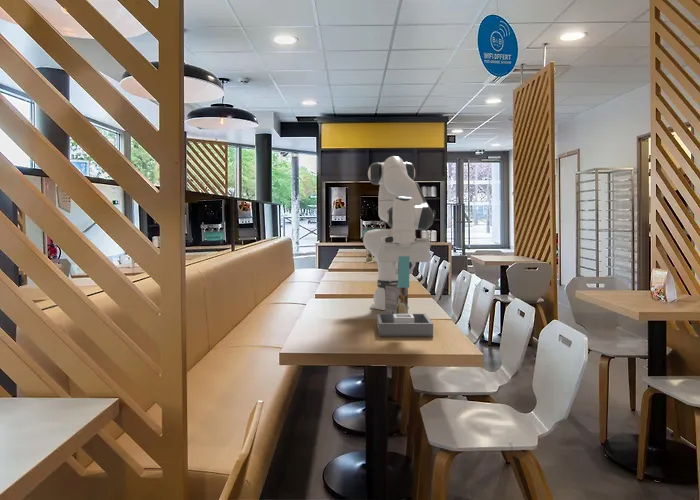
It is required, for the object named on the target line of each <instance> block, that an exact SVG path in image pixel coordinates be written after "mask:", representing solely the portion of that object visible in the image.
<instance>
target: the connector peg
mask: <svg viewBox="0 0 700 500" xmlns="http://www.w3.org/2000/svg"><path fill="white" fill-rule="evenodd" d="M398 269H399V271H398V272H399V274H398V287H399V288H408V289H409V288H410V274H409V269H410V262H409V256H399V262H398Z"/></svg>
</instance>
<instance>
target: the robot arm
mask: <svg viewBox="0 0 700 500" xmlns="http://www.w3.org/2000/svg"><path fill="white" fill-rule="evenodd" d="M367 176H368V180H369V182H370V183H371V184H372V185H375V186H379V189H378V190H379V191H378V197H377V198H378V202H377V203H378V210H377V211H378V212H377V213H378V217H379V219H380V220H382V221H383V222H385V223H386V224H387V225H388V226H389V227H390V228H383V229H382V228H381V229H380V228H375V229H371V230H367V231H366V232H365V234H364V235H363V239H362V242H363V246H364V247H365V249H366V250H367V251H369V253H370V254H372V255H373V257H374V259H375V261H376V263H377V272H378V273H377V274H378V277H377V281H376V284H377V285H376V287H377V288H376V289H375V291H374V292H373V295H372V296H373V303H371V305H370V309H374V310H380V311H385V284H389V283H395V282H398V274H399V272H398V271H399V269H398V262H399V256H409V263H411V267H410V268H409V275H413V271H414V269H415V267H416V264H417V263H429V262H430V260H431V253H430V249H431V247H432V246H431V245H432V244H431V241H430V240H429V239H428V238H421V237H420V238H419V237H417V236H416V230H418V231H427V230H429V228H430V227H431V226H432V225H433V224H434V214H433V210H432V208H431V207H430V205H429V204H428V202H427V200H426V198H425V196H424V194H423V191H422V189H421V187H420V185H419V183H418V182H417V181H415V180H414V179H415V178H416V169H415V166H414V164H413V163H412V162H408V161H405V162H404V160H403V159H402V158H401V157H400V156H396V155H392V156H389V157H388V158H386V159H385V160H384V161H383V162H379V161H378V162H377V161H376V162H373V163H371V164H370V165H369V167H368V171H367ZM409 307H410V306H409V305H408V309H409Z"/></svg>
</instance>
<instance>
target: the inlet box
mask: <svg viewBox="0 0 700 500" xmlns="http://www.w3.org/2000/svg"><path fill="white" fill-rule="evenodd" d="M376 327H377V332H378V337H379V338H434V323H433V322H432V320H431V319H430V318H429V316H428V315H427V314H426V313H408V314H385V313H376Z"/></svg>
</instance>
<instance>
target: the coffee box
mask: <svg viewBox="0 0 700 500" xmlns="http://www.w3.org/2000/svg"><path fill="white" fill-rule="evenodd" d="M408 289H409V288H399V287H398V282H395V283H389V284H385V310H384V314H409V308H408V306H409V305H408V303H409V301H408V300H409V299H408V298H409V297H408V296H409V295H408V294H409V291H408Z"/></svg>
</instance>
